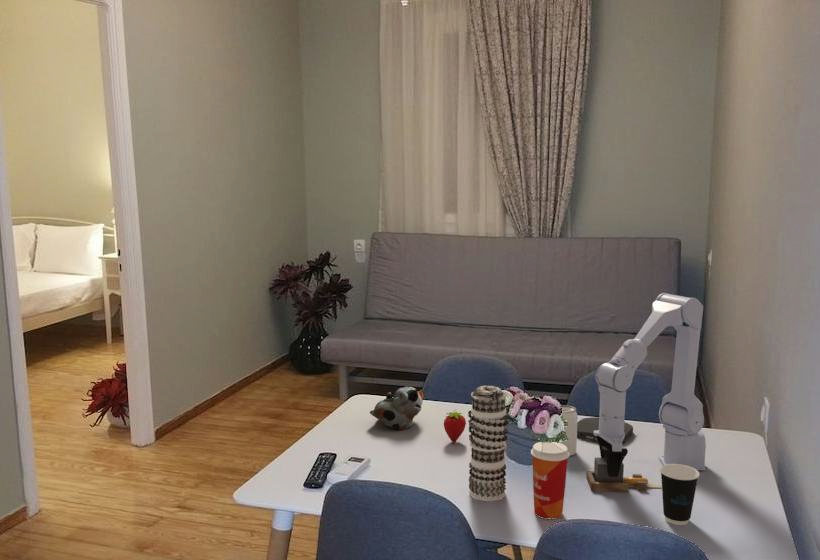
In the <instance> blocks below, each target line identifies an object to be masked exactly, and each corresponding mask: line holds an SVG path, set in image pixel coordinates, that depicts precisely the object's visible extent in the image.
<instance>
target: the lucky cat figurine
mask: <svg viewBox="0 0 820 560" xmlns="http://www.w3.org/2000/svg"><path fill="white" fill-rule="evenodd" d="M423 392H424V390H423V389H421V390H419V391H418V389H417V388H415V387H412V386H404V387H400V388H398V389H397V390H396V391H395V392H394V394H392V393H391V392H389V391H388V392H387V393H386V394H385V399H382V400H379V401H378V402H377V403H376V405H375V406H374V409H372V410H370V411H369V414H370V415H371V416H373V417H374V418H376V419H377V420H379V421H380V422H381V423H383V424H384V425H385V426H387V427H389V428H392V429H394V428H396V430H397V431H402V430H406V429H408V428H411V427H412V425H413V423H414V422H413V421H414V418H415V417H416V416H417V415H418V414H419V413H420V412H421V411H422V406H423V400H424V393H423Z"/></svg>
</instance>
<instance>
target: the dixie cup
mask: <svg viewBox="0 0 820 560" xmlns="http://www.w3.org/2000/svg"><path fill="white" fill-rule="evenodd" d="M659 472H660V474H661V475H660V477H661V487H662V488H661V492H662V494H661V495H662V506H663V507H662V509H663V512H662V513H663V515H664V519H665V521H666V522H667V523H669V524H672V525H675V526H686V525H688V524H689V521H690V519H691V517H692V511H693V506H694V501H695V494H696V488H697V485H698V484H697V483H698V479H699V477H700V476H701V475H700V471H699V470H696V469H694V468H692V467H689V466H686V465H680V464H667V465H662V466H660V468H659Z"/></svg>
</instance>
